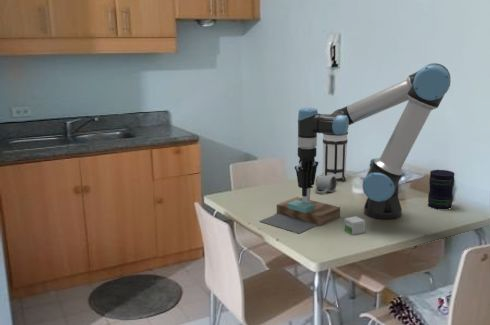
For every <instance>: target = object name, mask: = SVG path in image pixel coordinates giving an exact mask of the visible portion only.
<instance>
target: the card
mask: <svg viewBox="0 0 490 325" xmlns="http://www.w3.org/2000/svg"><path fill="white" fill-rule="evenodd" d="M314 207H315V205H314V204H310V203H306V202H302V201H299V200H296V201H293V202H290V203H288V208H289V209H293V210H296V211H300V212H304V213H307V212H309V211H312V210H314Z"/></svg>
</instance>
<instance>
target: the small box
mask: <svg viewBox="0 0 490 325" xmlns="http://www.w3.org/2000/svg"><path fill="white" fill-rule="evenodd" d="M343 227H344V231H346V232H348V233H349V234H351V235H352V236H353V235H358V234H364V233H365V232H366V220H365V219H363V218H360V217H359V216H357V215H354V216H350V217H345V218H344V226H343Z"/></svg>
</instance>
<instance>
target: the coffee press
mask: <svg viewBox="0 0 490 325" xmlns="http://www.w3.org/2000/svg"><path fill="white" fill-rule="evenodd" d="M348 135H349V130H348V131H347V133H346V134H339V135H336V134H325V133H322V137H323V138H322V175H325V176H335V177H336V180H337V179H338V180H341V181H342V182H343V183H344V182H346V181H347V179H346V175H347V160H348V159H347V157H348V156H347V155H348V154H347V153H348V143H349V142H348Z"/></svg>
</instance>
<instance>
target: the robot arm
mask: <svg viewBox="0 0 490 325" xmlns="http://www.w3.org/2000/svg"><path fill="white" fill-rule="evenodd" d="M450 87H451V74H450V70H448V68H446V66H445V65H443V64H440V63H437V62H436V63H433V62H432V63H429V64H427V65H425V66H423V67H421V69H419V70H417V71H415V72H413V73H412V74H409V75H408V76H407V78H406V79H405V80H403V81H400V82H397V83H396V84H393V85H391V86H389V87H386V88H384V89H383V90H380V91H378V92H376V93H373V94H371V95H369V96H367V97H364V98H361V99H360V100H358V101H355V102H353V103H351V104H349V105H346V106H344V107H342V108H338V109H336V110H334V111H333V112H332V113H330V114H325V113H319V112H318V109H317V108H314V107H302V108H300V109H299V110H298V117H297V157H298V158H299V160H298V165H295V166H294V170H295V171H296V180H297V185H298V188H300V189H301V195H302V196H301V198H302V202H306V203H310V200H311V189H313V188H314V185H315V183H316V175H317V169H318V165H319V161H316V160H315V158H317V146H318V134H323V133H325V134H336V135H339V134H346V133H347V131H348V132H349V126H350V125H354V124H355V123H357V122H359V121H360V122H361V121H362V120H364V119H368V118H369V117H372V116H374V115H376V114H379V113H381V112H384V111H386V110H388V109H390V108H393V107H396V106H398V105H400V104H402V103H405V102H407V103H406V105H405V107H404V109H403V111H402V114H401V115H400V117H399V119H398V121H397V124H396V125H395V127H394V129H393V131H392V134H391V135H390V137H389V139H388V141H387V142H386V143H387V144H386V145H385V147H384V150H383V151H382V153H381V155H380V157H378V158H372V159H371V160H370V162H369V170H368V171H367V173H366V176H365V177H364V178H363V181H362V190H363V193H364V195H365V196H366V197H367V198H366V200H365V201H366V202H364V203H365V204H364V207H363V214H365V215H366V216H368V217H371V218H374V219H378V220H379V219H381V220H393V219H399V218H401V216H402V211H403V208H402V206H401V202H400V198H399V187H400V185H399V184H400V180H401V179H402V176H403V174H404V172H403V169H402V167H403V165H404V164H405V161H406V160H407V158H408V156H409V154H410V152H411V150H412V148H413V146H414V144H415V142H416V140H417V139H418V137H419V135H420V134H421V131H422V130H423V127H424V126H425V123H426V121H427V119H428V118H429V116H430V114H431V112H432V111H433V110H435V109H438V108H439V106H440V104H441V102H442V101H443V98H444V97H445V94H447V92H448V91H449V89H450Z"/></svg>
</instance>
